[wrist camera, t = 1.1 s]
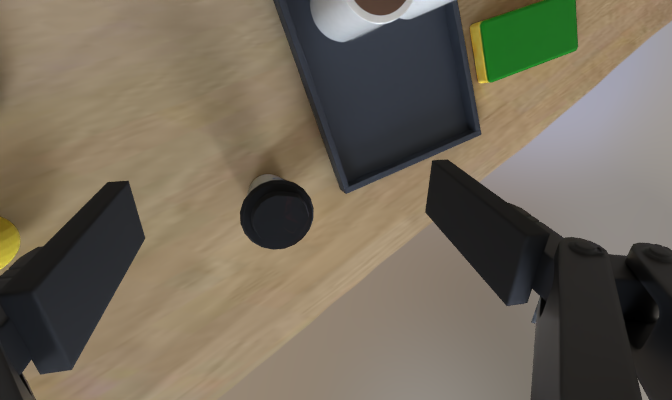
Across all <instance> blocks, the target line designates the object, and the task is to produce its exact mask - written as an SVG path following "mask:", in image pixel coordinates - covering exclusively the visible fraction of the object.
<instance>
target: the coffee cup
mask: <svg viewBox="0 0 672 400" xmlns="http://www.w3.org/2000/svg"><path fill="white" fill-rule="evenodd" d="M240 221H241V225H242V228H243V230H244V233H245V234H246V235H247V236H248V238H249V239H250V240H251V241H252V242H254V243H255V244H257V245H259V246H261V247H264V248H268V249H285V248H287V247H290V246H292V245H295V244H296V243H297V242H299V241H300V240H301V239H302V238H303V237H304V236H305V235H306V233H307V232H308V230H309V229H310V227H311V224H312V221H313V205H312V202H311V199H310V197H309V196H308V194H307V193H306V192H305V190H304V189H303V188H301V187H300V186H298V185H297V184H295V183H293V182H290V181H286V180H284V179H282V178H280V177H278V176H276V175H272V174H264V175H261V176H258V177H257V178H256V179H254V180H253V182H252V183H251V184H250V187H249V190H248V194H247V197H246V198H245V199H244V201H243V204H242V207H241V211H240Z"/></svg>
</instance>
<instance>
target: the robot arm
mask: <svg viewBox="0 0 672 400" xmlns="http://www.w3.org/2000/svg"><path fill="white" fill-rule="evenodd" d="M425 212H426V214H427V215H428V216H429V217H430V218H431V219H432V221H433V222H434V223H435V224H436V225H437V226H438V227H439V229H440V230H441V231H442V232H443V233H444V234H445V235H446V237H447V238H448V239H449V240H450V241H451V242H452V244H453V245H454V246H455V247H456V248H457V249H458V250H459V251H460V253H461V254H462V255H463V256H464V257H465V258H466V260H467V261H468V262H469V263H470V264H471V265H472V267H473V268H474V269H475V270H476V271H477V272H478V273H479V274H480V276H481V277H482V278H483V279H484V280H485V281H486V283H487V284H488V285H489V286H490V287H491V288H492V290H493V291H494V292H495V293H496V294H497V295H498V296H499V298H500V299H501V300H502V301H503V302H504V303H505V304H506V306H510V305H517V304H524V303H527V302H528V299H529V296H530V293H531V290H532V289H533V290H534V291H535V292H536V293H538V294H539V295H540V299H539V301H538V304H537V307H536V310H535V313H534V316H533V319H532V323H536V329H535V344H534V359H533V373H532V387H531V400H642V397H641V392H640V388H639V383H638V380H639V382H640V384H641V385H642V387H643V389H644V391H645V392H646V394H647V396H648V398H649V400H672V250H670V249H669V248H667V247H662V246H661V245H657V244H650V243H636V244H633V246H632V247H631V249H630V251H629V254H628V255H627V256H621V255H611V254H608V253H607V251H606V250H605V249H604V248H602V247H601V246H600V245H597V244H595V243H593V242H591V241H587V240H585V239H581V238H574V237H568V238H563V237H562V236H560V235H559V234H557V233H556V232H555V231H553V230H552V229H550V228H549V227H548V226H546V225H545V224H543V223H542V222H539V220H538V219H536V218H535V217H533V216H531V215H530V214H529V213H528V212H526V211H525V210H523V209H522V208H520V207H517V206H515V205H513V204H510V203H507V202H505V201H504V200H503V199H501V198H500V197H499V196H497V195H496V194H494V193H493V192H491V191H490V190H489V189H487V188H486V187H485V186H483V185H482V184H480V183H479V182H478V181H476V180H475V179H474V178H472V177H471V176H470V175H468V174H467V173H465V172H464V171H463V170H461V169H460V168H459V167H457V166H456V165H454V164H453V163H452V162H450V161H449V160H433V161H432V166H431V174H430V181H429V189H428V196H427V204H426V211H425ZM144 240H145V236H144V232H143V229H142V226H141V222H140V219H139V215H138V212H137V208H136V205H135V202H134V198H133V195H132V191H131V188H130V184H129V181H118V182H107V183H106V184H105V185H104V186H103V187H102V188H101V189H100V190H99V191H98V192H97V193H96V194H95V195H94V196H93V197H92V198H91V199H90V200H89V201H88V202H87V203H86V204H85V205H84V206H83V207H82V208H81V209H80V210H79V211H78V212H77V213H76V214H75V215H74V216H73V217H72V218H71V219H70V220H69V221H68V222H67V223H66V224H65V225H64V226H63V227H62V228H61V229H60V230H59V231H58V232H57V233H56V234H55V235H54V236H53V237H52V238H51V239H50V240H49V241H48V242H47V243H46V244H45V245H44V246H43V247H37V248H35V249H34V250H32V251H30V252H28V253H27V254H25V255H23V256H22V257H20V258H19V259H18V260H17V261H16V262H15V263H14V264H13V265H12V266H11V267H10V268H9V270H6V271H5V272H4V273H3V274H2V275H1V276H0V400H36V399H35V397H34V395H33V393H32V391H31V388H30V386H29V384H28V382H27V380H26V379H25V377H24V375H23V374H22V372H23V371H24V369H25V368H26V366H27V365H28V363H29V362H30V361H31V359H32V361H33V363H34V365H35V366H36V368H37V370H38V372H39V373H40V374H46V373H53V372H60V371H67V370H72V368H73V367H74V365H75V363H76V361H77V360H78V358H79V356H80V354H81V352H82V351H83V349H84V347H85V345H86V343H87V342H88V340H89V338H90V336H91V334H92V333H93V331H94V329H95V327H96V325H97V324H98V322H99V320H100V318H101V317H102V315H103V313H104V311H105V309H106V308H107V306H108V304H109V302H110V300H111V299H112V297H113V295H114V293H115V291H116V290H117V288H118V286H119V284H120V283H121V281H122V279H123V277H124V275H125V274H126V272H127V270H128V268H129V266H130V265H131V263H132V261H133V259H134V257H135V256H136V254H137V252H138V250H139V249H140V247H141V245H142V243H143V241H144ZM637 378H638V379H637Z"/></svg>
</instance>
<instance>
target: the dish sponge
mask: <svg viewBox="0 0 672 400" xmlns="http://www.w3.org/2000/svg"><path fill="white" fill-rule="evenodd" d="M470 34H471V40H472V47H473V53H474V60H475V67H476V73H477V80H478V82H479V83H489V82H494V81H497V80H499V79H502V78H505V77H507V76H510V75H513V74H515V73H518V72H521V71H523V70H526V69H529V68H531V67H534V66H537V65H539V64H542V63H544V62H547V61H550V60H552V59H555V58H558V57H560V56H563V55H566V54H568V53H571V52H574V51H576V50H577V48H578V39H577V18H576V0H542V1H539V2H536V3H533V4H530V5H527V6H524V7H521V8H519V9H516V10H513V11H510V12H507V13H504V14H501V15H498V16H495V17H492V18H489V19H486V20H483V21H480V22H477V23H474V24H471V26H470Z"/></svg>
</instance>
